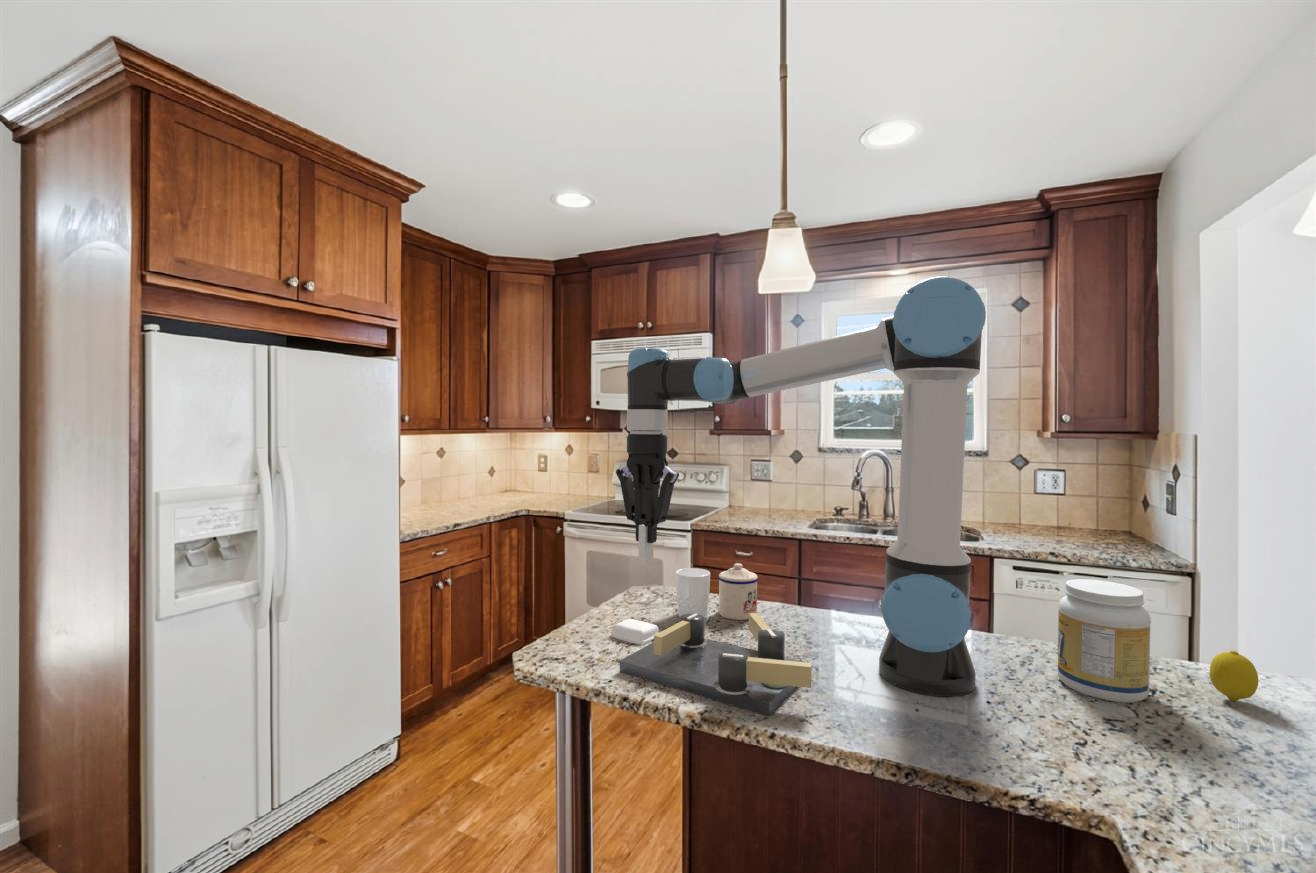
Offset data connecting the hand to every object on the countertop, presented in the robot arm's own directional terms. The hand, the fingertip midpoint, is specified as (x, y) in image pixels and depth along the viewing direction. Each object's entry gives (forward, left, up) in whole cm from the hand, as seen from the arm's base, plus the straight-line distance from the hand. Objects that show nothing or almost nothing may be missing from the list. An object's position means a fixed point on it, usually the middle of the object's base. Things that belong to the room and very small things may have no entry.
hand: (645, 559), depth 109 cm
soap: (+8, -8, -19) cm, 22 cm away
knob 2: (-19, -11, -16) cm, 27 cm away
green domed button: (-26, +1, -16) cm, 31 cm away
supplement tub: (-70, -32, -19) cm, 79 cm away
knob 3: (-26, +4, -16) cm, 31 cm away
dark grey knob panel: (-14, -1, -18) cm, 23 cm away
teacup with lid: (-3, -34, -19) cm, 39 cm away
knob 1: (-6, -2, -16) cm, 17 cm away
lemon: (-87, -38, -19) cm, 97 cm away
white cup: (+5, -26, -19) cm, 32 cm away
